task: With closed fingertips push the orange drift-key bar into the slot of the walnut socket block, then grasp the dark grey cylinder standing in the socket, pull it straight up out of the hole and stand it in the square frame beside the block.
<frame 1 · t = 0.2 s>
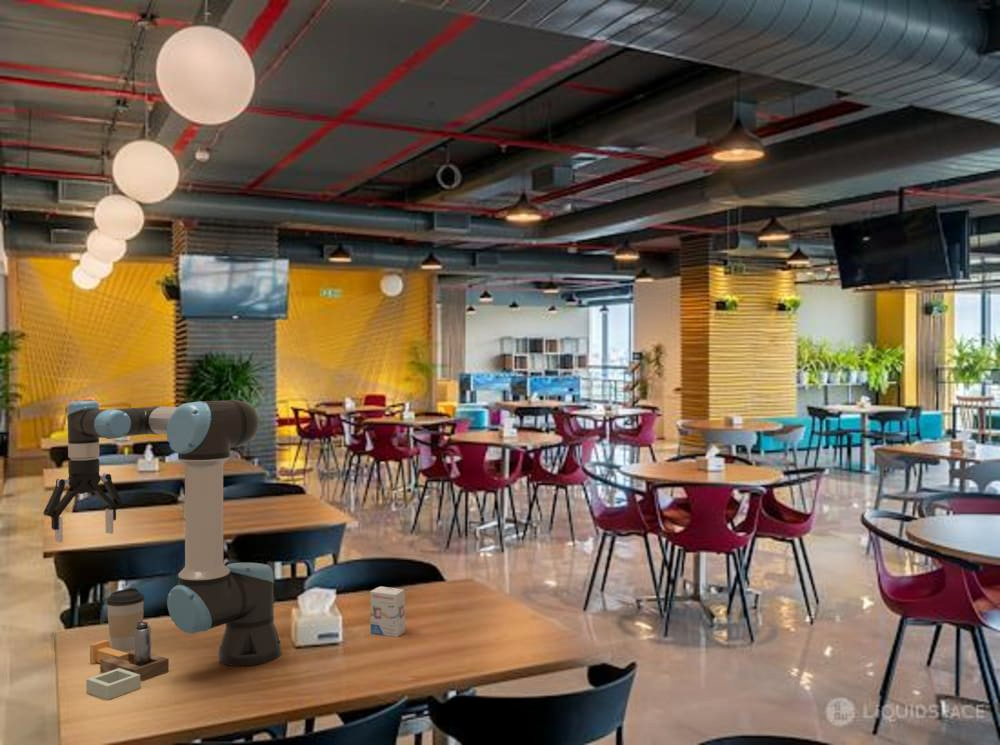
hand: (84, 537, 225), 27 cm above the table, fingers open, 13 cm apart
coffee cup: (126, 649, 217), on the table
dark grey cylinder: (142, 674, 199), resting in socket block
socket block: (135, 671, 201), on the table
ink box: (387, 633, 229), on the table
square frame: (113, 690, 190), on the table
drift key: (110, 654, 206), point 2 cm above the table, slide at 0.0 cm
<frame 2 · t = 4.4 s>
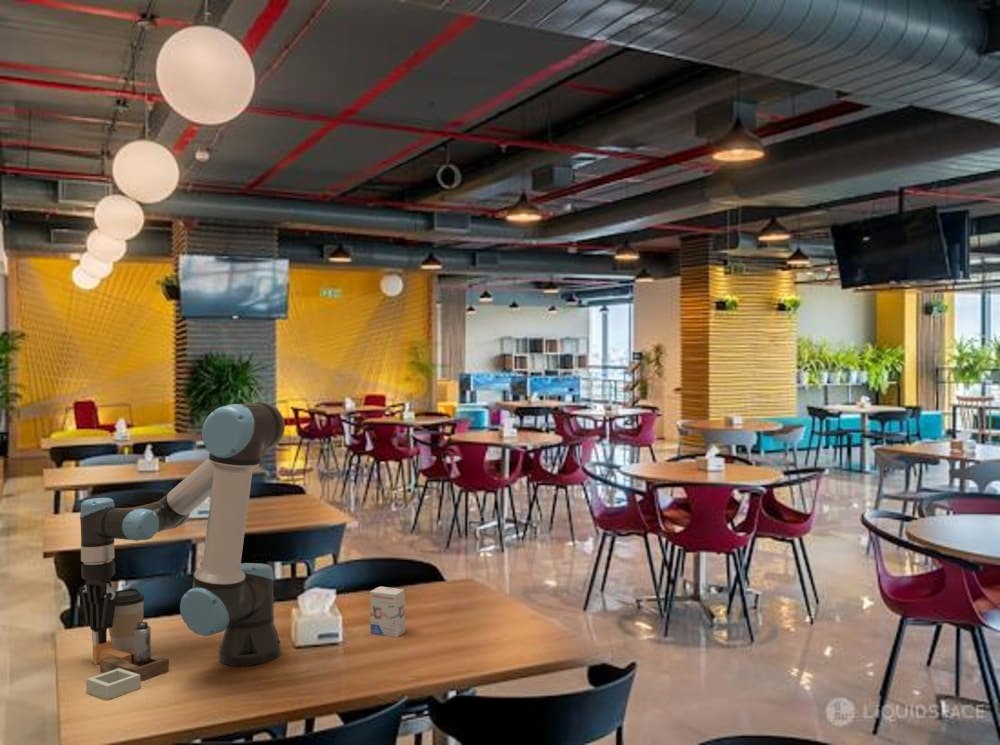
hand: (99, 655, 209), 1 cm above the table, fingers closed
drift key: (113, 655, 205), point 2 cm above the table, slide at 1.2 cm, touching gripper
everything else where it was.
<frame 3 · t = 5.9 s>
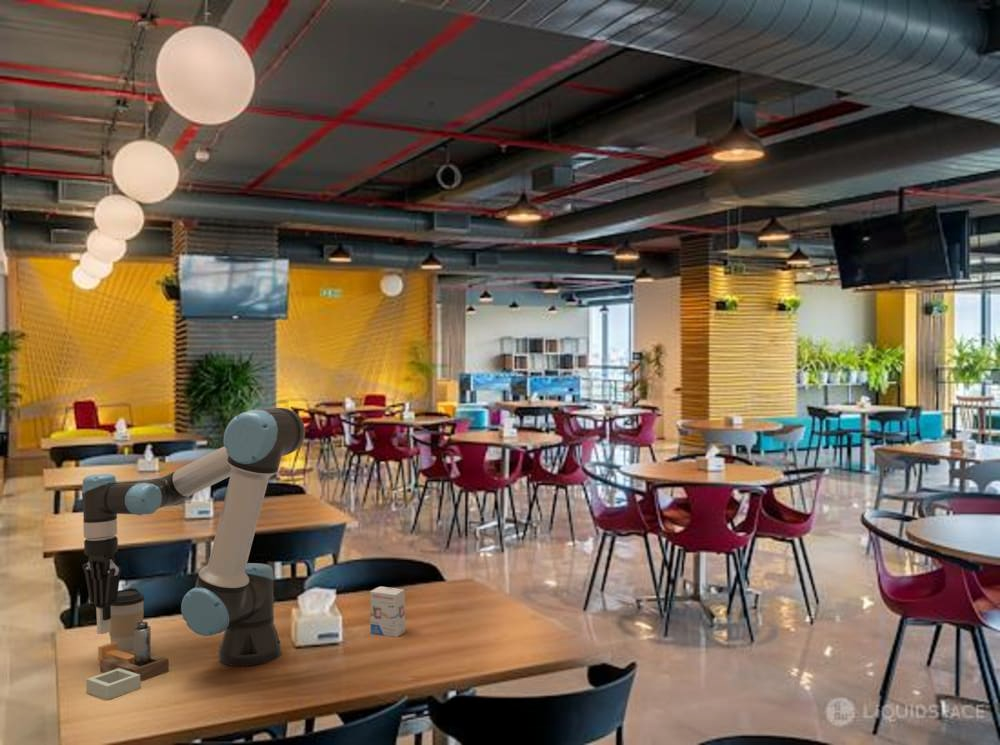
hand: (104, 632, 208), 7 cm above the table, fingers closed
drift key: (119, 657, 204), point 2 cm above the table, slide at 3.5 cm
everything else where it was.
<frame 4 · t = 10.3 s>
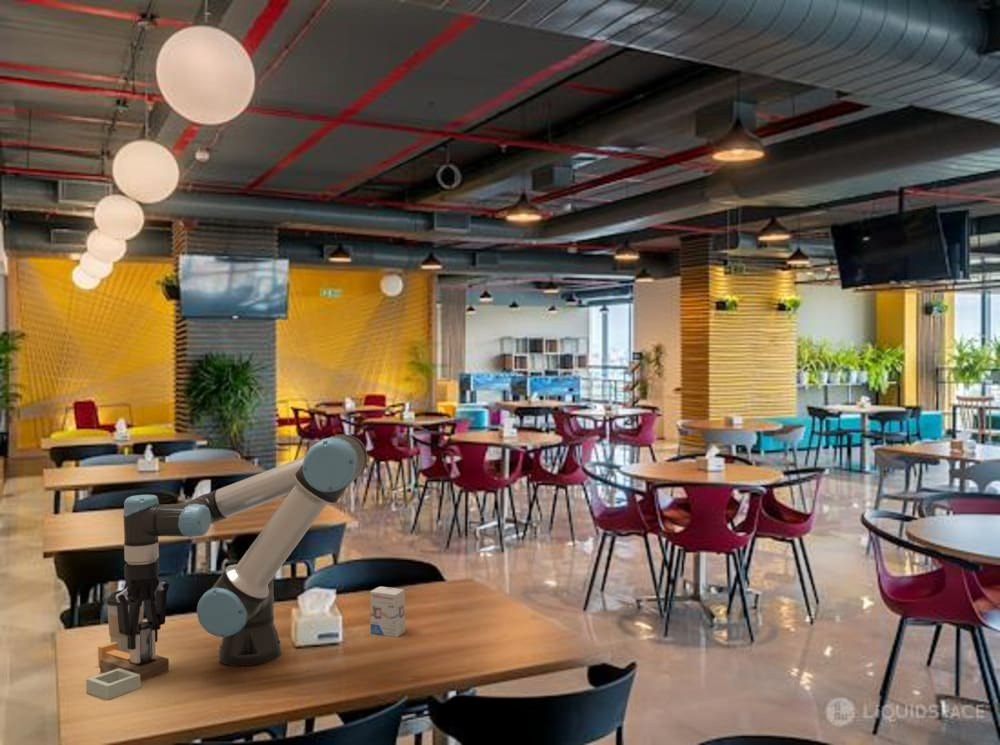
hand: (142, 659, 199), 4 cm above the table, fingers closed on dark grey cylinder, 3 cm apart
dark grey cylinder: (143, 674, 199), resting in socket block, touching gripper
everything else where it was.
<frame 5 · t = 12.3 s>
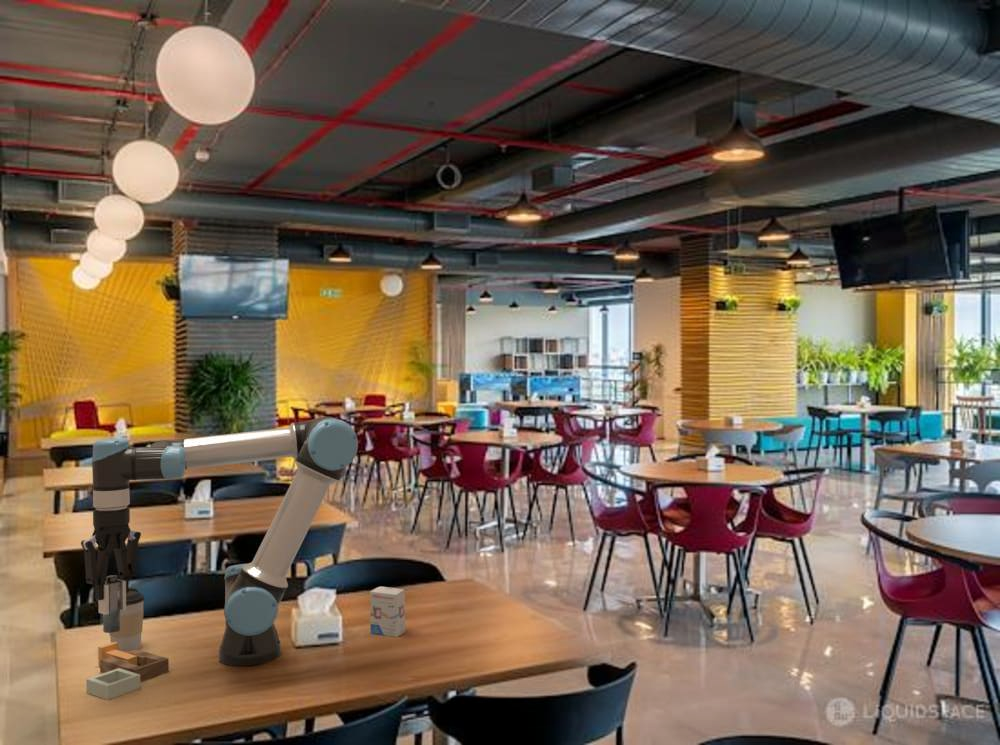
hand: (112, 610, 190), 18 cm above the table, fingers closed on dark grey cylinder, 3 cm apart
dark grey cylinder: (112, 630, 190), point 14 cm above the table, touching gripper
everything else where it was.
when the fingers open (6 cm above the table, at t = 14.7 s): dark grey cylinder drops 1 cm, resting in square frame.
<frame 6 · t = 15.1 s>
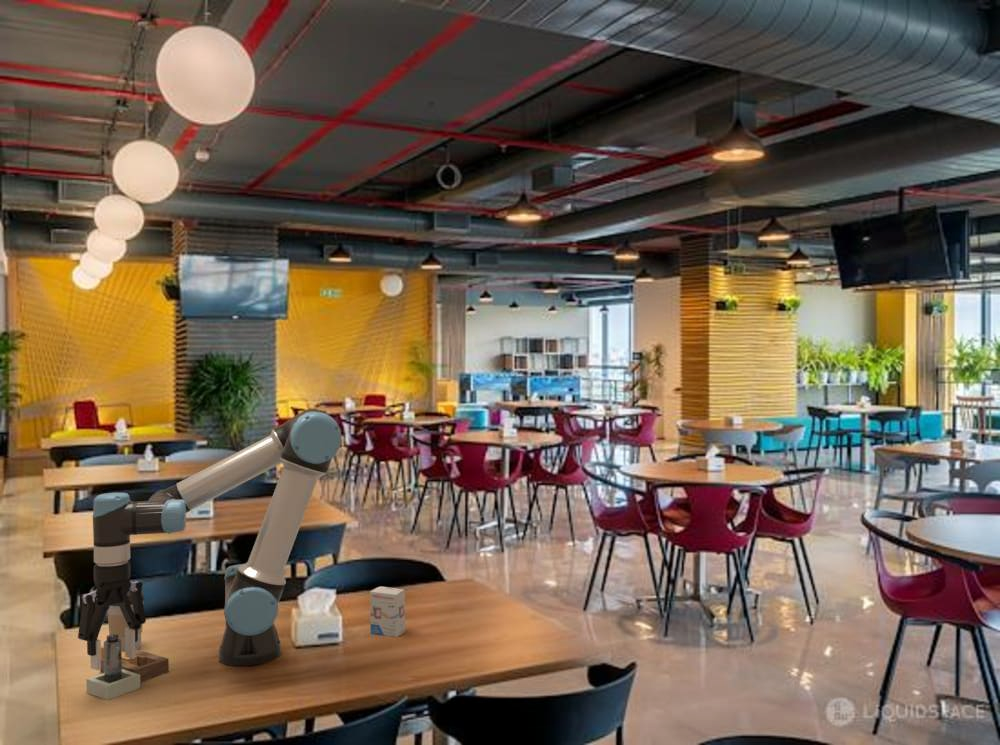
hand: (113, 662, 190), 6 cm above the table, fingers open, 8 cm apart
dark grey cylinder: (113, 689, 190), resting in square frame
everything else where it was.
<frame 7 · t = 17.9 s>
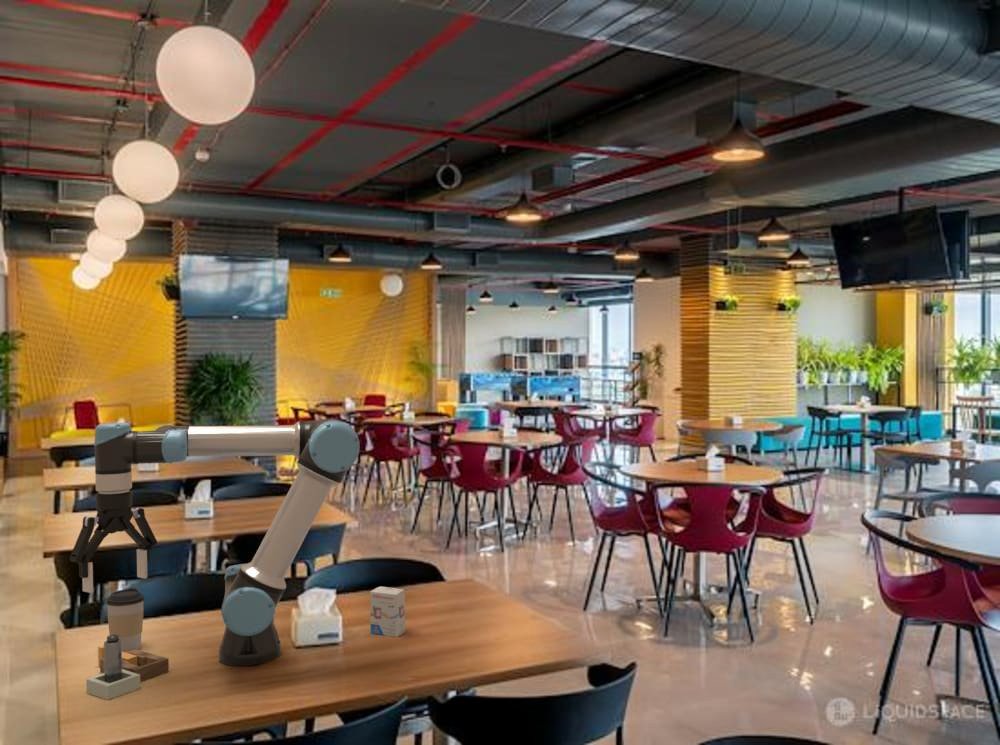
hand: (115, 584, 191), 24 cm above the table, fingers open, 13 cm apart
nothing on the table moved.
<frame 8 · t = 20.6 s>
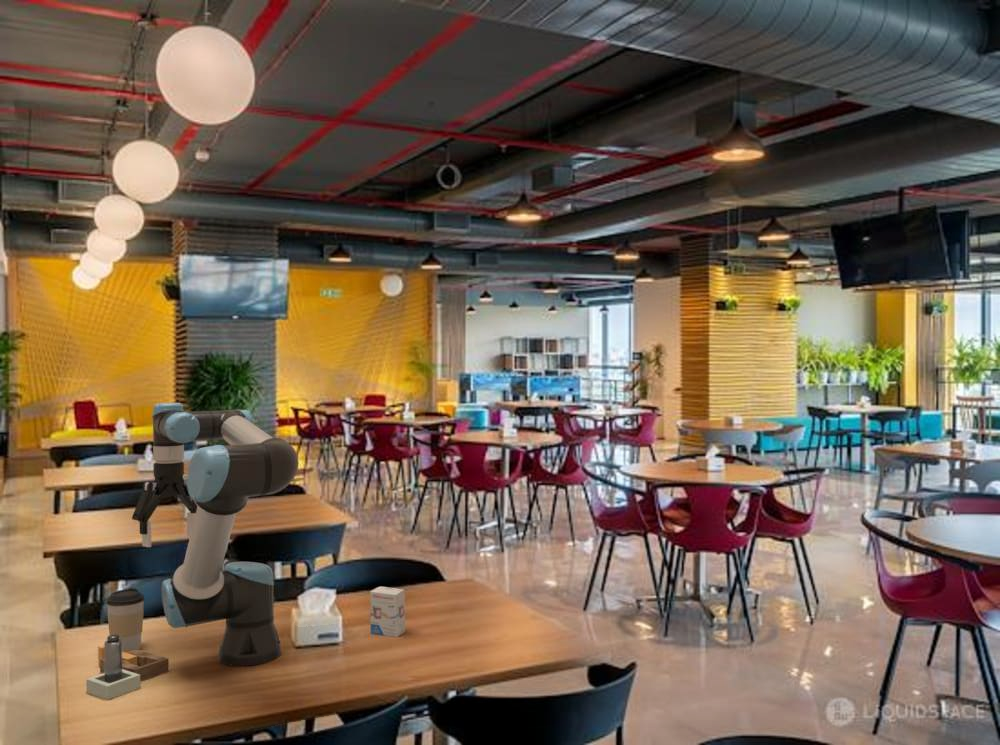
hand: (169, 541, 222), 27 cm above the table, fingers open, 13 cm apart
nothing on the table moved.
at the end: dark grey cylinder 0.1 cm off-centre on the square frame, point 0.0 cm above the square frame's base; dark grey cylinder tilted 0°; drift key slide at 3.5 cm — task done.
